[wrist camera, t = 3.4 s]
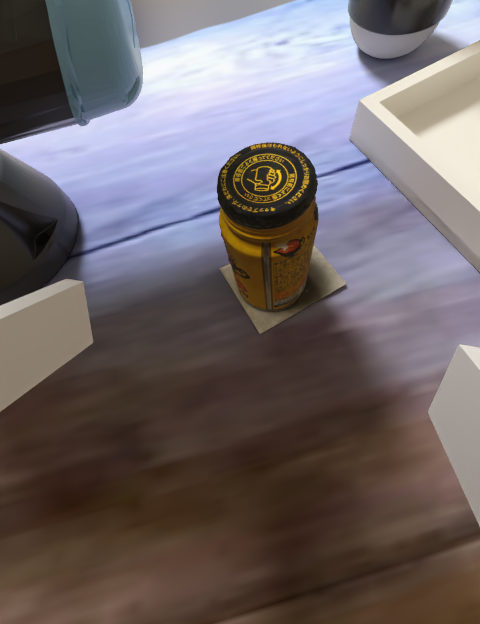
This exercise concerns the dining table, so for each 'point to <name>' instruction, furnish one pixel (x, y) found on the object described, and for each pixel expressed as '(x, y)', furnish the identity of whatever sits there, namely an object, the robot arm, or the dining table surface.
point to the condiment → (272, 233)
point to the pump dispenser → (394, 24)
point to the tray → (431, 143)
